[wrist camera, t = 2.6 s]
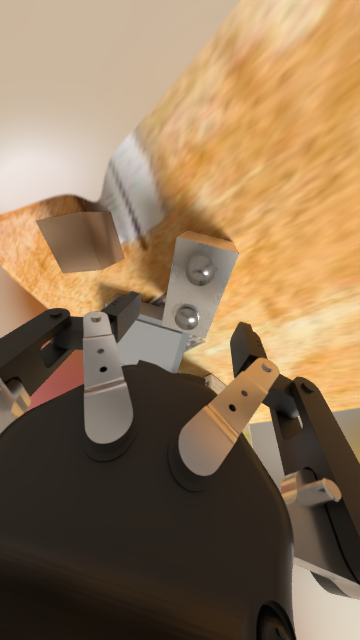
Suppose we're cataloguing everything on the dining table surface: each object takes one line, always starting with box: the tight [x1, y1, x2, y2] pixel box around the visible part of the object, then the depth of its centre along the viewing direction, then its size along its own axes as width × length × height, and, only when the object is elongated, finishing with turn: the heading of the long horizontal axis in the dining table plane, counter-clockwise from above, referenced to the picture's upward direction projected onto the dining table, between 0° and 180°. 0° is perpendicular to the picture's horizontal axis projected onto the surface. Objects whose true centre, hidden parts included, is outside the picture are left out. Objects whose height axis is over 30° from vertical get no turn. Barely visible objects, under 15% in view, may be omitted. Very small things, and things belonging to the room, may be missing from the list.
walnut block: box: [36, 212, 125, 273], centre depth 18 cm, size 5×5×5 cm
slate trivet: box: [105, 294, 190, 373], centre depth 26 cm, size 12×12×3 cm
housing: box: [162, 230, 239, 338], centre depth 17 cm, size 9×5×7 cm, turn 168°
